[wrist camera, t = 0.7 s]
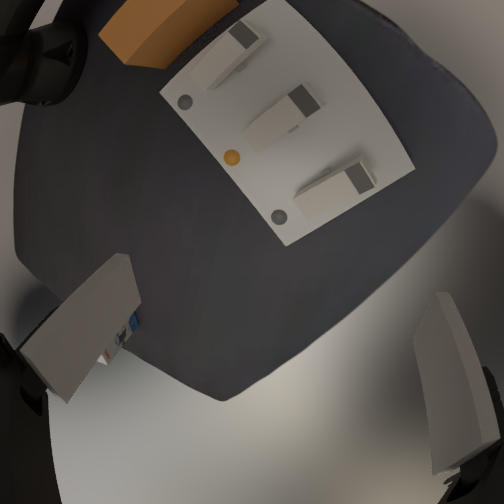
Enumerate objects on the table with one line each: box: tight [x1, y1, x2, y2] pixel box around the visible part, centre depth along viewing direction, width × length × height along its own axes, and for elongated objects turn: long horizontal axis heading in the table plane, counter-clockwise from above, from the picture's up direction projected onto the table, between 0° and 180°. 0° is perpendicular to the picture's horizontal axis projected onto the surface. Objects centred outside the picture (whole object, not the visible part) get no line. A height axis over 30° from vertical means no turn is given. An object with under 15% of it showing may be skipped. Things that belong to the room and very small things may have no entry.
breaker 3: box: [292, 155, 377, 220], centre depth 25 cm, size 3×8×2 cm, turn 130°
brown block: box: [98, 0, 240, 69], centre depth 19 cm, size 6×12×8 cm, turn 130°
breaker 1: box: [189, 19, 269, 92], centre depth 21 cm, size 3×8×2 cm, turn 130°
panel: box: [159, 0, 415, 246], centre depth 25 cm, size 23×17×4 cm
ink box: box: [97, 312, 139, 365], centre depth 43 cm, size 9×5×12 cm, turn 3°
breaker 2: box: [240, 82, 327, 154], centre depth 23 cm, size 3×8×2 cm, turn 130°
